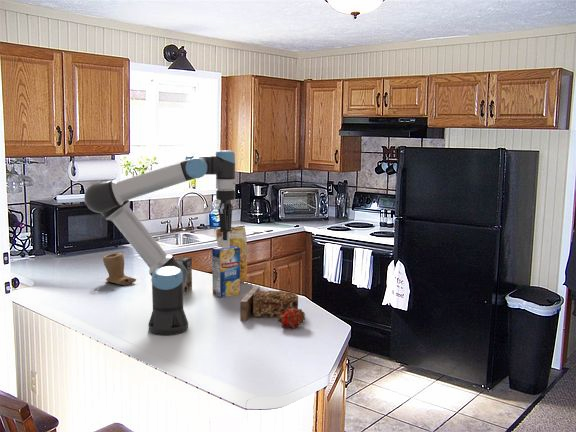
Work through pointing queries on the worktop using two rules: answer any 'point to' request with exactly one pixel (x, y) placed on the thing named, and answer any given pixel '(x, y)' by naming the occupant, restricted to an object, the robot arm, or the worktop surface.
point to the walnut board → (247, 304)
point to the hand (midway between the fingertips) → (225, 247)
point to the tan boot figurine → (116, 269)
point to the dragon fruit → (292, 317)
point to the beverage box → (226, 271)
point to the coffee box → (188, 265)
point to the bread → (273, 303)
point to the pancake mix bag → (239, 241)
